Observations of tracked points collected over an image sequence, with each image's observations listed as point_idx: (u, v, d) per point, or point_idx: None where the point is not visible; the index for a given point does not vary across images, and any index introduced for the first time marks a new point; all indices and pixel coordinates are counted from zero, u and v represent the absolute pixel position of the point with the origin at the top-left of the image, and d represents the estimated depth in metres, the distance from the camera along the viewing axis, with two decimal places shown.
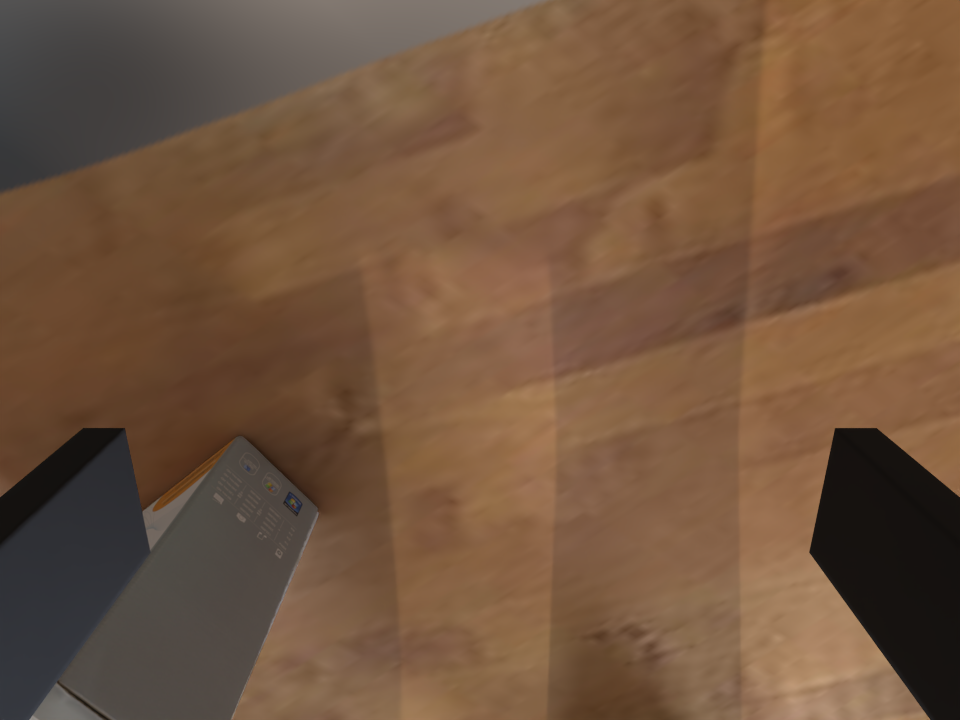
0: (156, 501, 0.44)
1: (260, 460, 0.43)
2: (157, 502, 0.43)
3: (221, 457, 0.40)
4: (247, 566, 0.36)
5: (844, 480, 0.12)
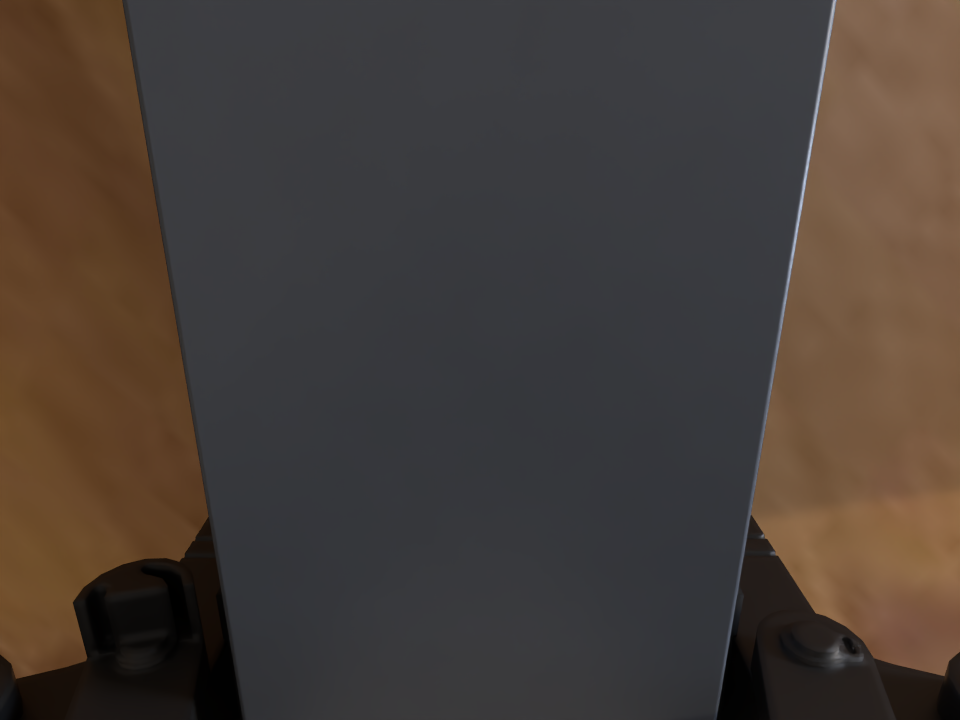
0: None
1: None
2: None
3: None
4: None
5: None
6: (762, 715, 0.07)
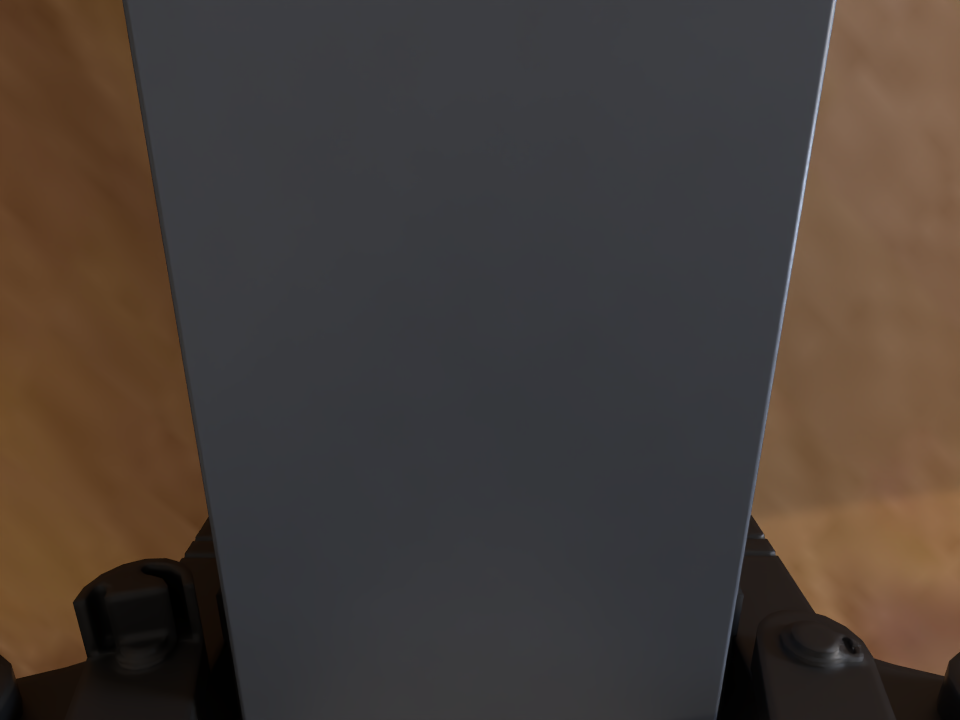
0: None
1: None
2: None
3: None
4: None
5: None
6: (762, 715, 0.07)
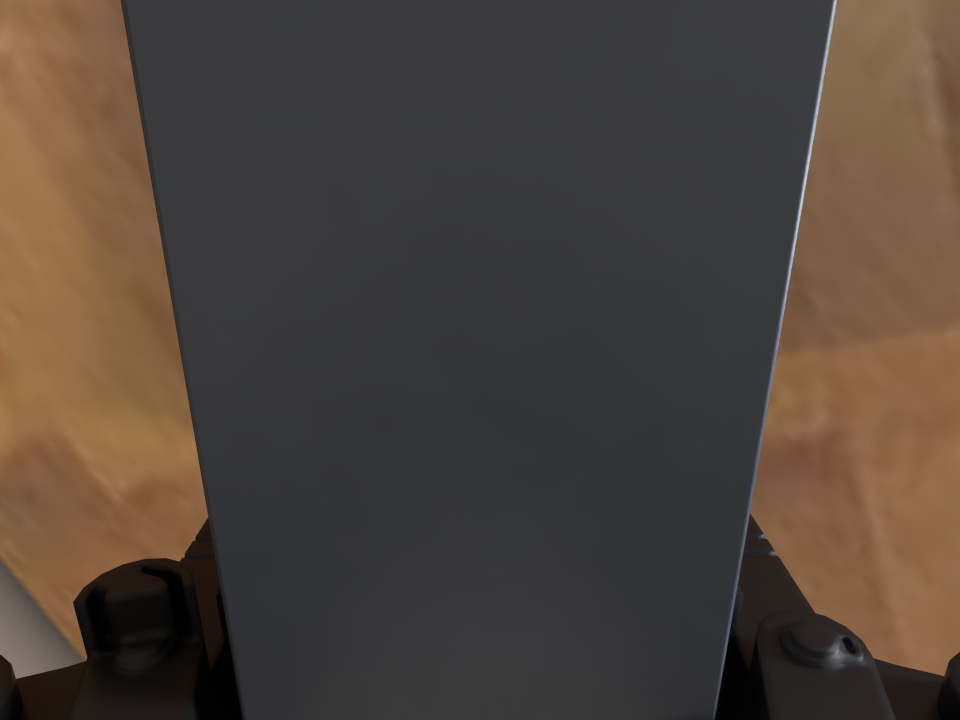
0: None
1: None
2: None
3: None
4: None
5: None
6: (762, 715, 0.07)
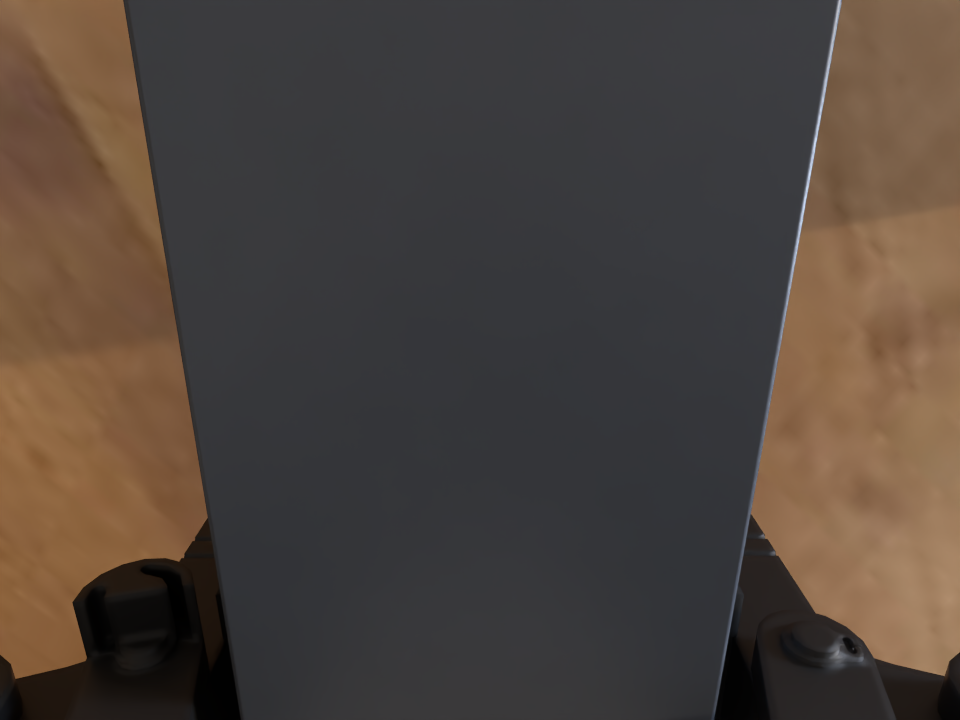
0: None
1: None
2: None
3: None
4: None
5: None
6: (762, 715, 0.07)
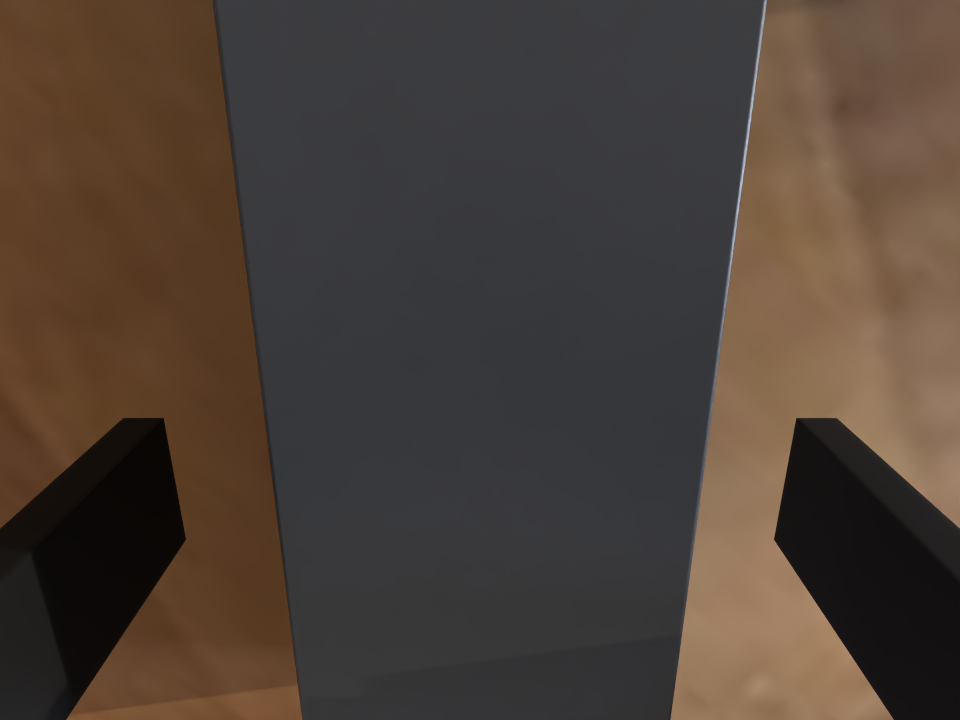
0: None
1: None
2: None
3: None
4: None
5: (804, 468, 0.12)
6: None
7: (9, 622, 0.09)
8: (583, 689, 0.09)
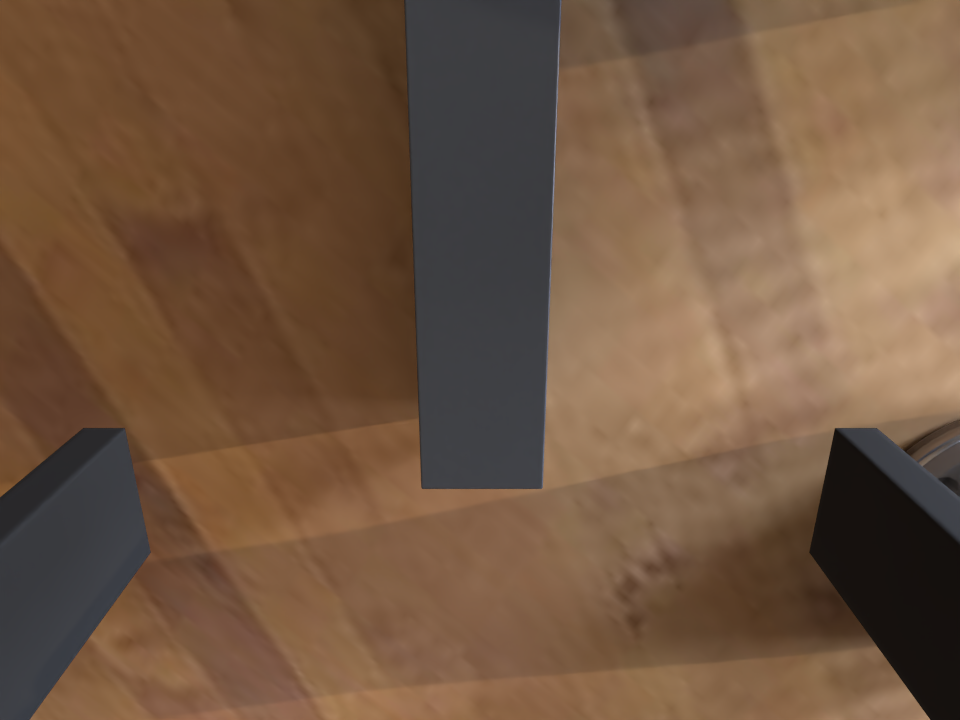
0: None
1: None
2: None
3: None
4: None
5: (844, 480, 0.12)
6: None
7: None
8: (516, 307, 0.25)
